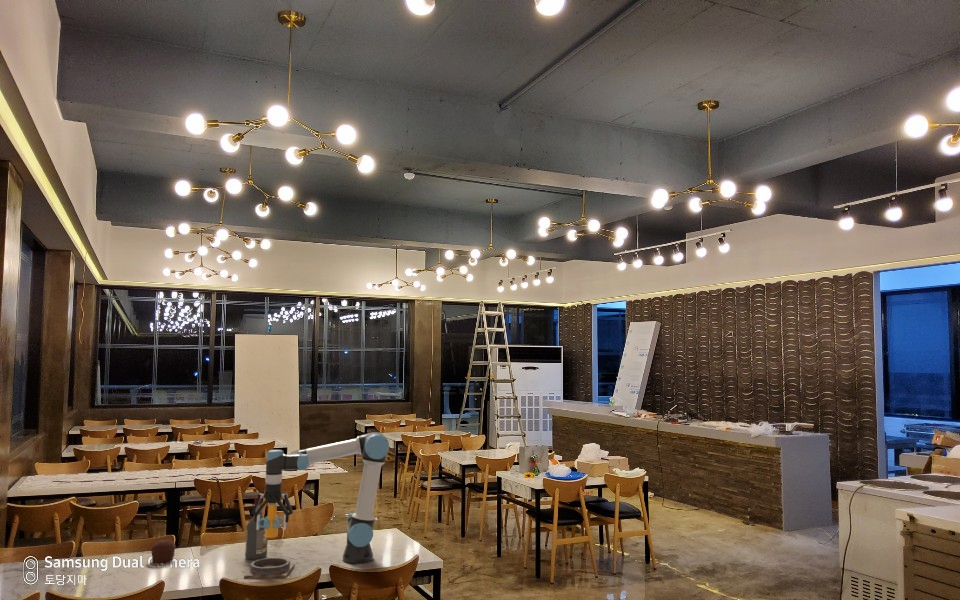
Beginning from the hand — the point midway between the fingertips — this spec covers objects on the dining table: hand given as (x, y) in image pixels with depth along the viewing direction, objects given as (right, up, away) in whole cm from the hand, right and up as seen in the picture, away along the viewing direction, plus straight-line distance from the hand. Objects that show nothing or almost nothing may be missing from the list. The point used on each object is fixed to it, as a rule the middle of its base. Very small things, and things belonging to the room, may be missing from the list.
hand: (271, 529), depth 322 cm
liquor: (-15, -22, +22) cm, 34 cm away
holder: (0, -20, -2) cm, 20 cm away
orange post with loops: (0, -4, 0) cm, 4 cm away
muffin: (-58, -21, +13) cm, 63 cm away
